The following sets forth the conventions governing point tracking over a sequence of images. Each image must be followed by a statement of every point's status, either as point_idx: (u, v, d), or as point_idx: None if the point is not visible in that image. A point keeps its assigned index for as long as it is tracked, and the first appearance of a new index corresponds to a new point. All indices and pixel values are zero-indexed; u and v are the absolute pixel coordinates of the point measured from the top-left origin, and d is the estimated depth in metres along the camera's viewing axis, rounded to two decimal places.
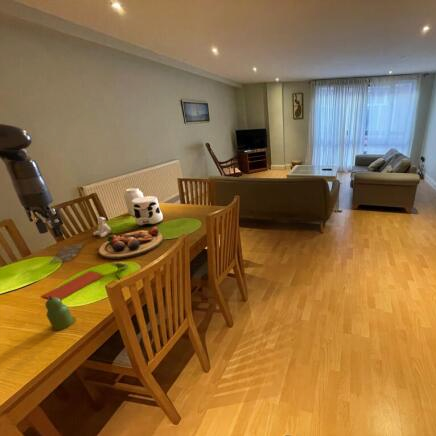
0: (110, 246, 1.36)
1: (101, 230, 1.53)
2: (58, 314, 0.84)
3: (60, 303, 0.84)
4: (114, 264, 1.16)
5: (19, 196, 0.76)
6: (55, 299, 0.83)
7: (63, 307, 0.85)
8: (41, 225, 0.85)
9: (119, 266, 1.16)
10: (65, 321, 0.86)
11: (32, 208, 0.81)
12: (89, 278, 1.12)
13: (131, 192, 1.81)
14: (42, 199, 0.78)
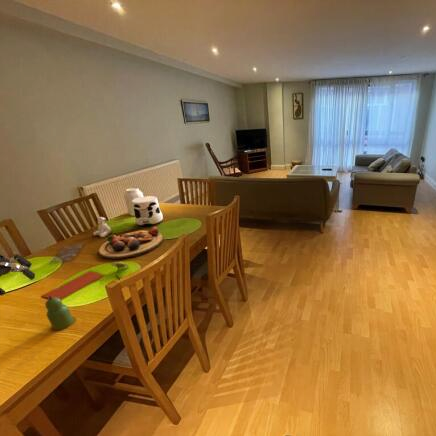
0: (110, 246, 1.36)
1: (101, 230, 1.53)
2: (58, 314, 0.84)
3: (60, 303, 0.84)
4: (114, 264, 1.16)
5: None
6: (55, 299, 0.83)
7: (63, 307, 0.85)
8: None
9: (119, 266, 1.16)
10: (65, 321, 0.86)
11: None
12: (89, 278, 1.12)
13: (131, 192, 1.81)
14: None
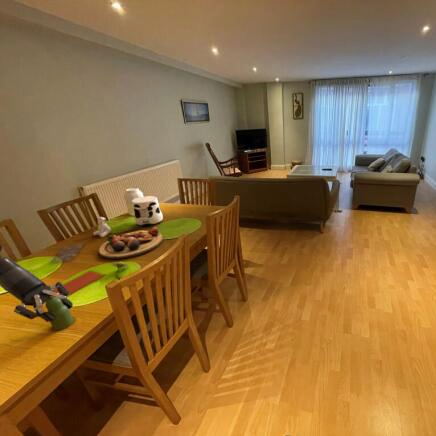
0: (110, 246, 1.36)
1: (101, 230, 1.53)
2: (58, 314, 0.84)
3: (60, 303, 0.84)
4: (114, 264, 1.16)
5: (27, 278, 0.82)
6: (55, 299, 0.83)
7: (63, 307, 0.85)
8: None
9: (119, 266, 1.16)
10: (65, 321, 0.86)
11: (30, 296, 0.81)
12: (89, 278, 1.12)
13: (131, 192, 1.81)
14: None
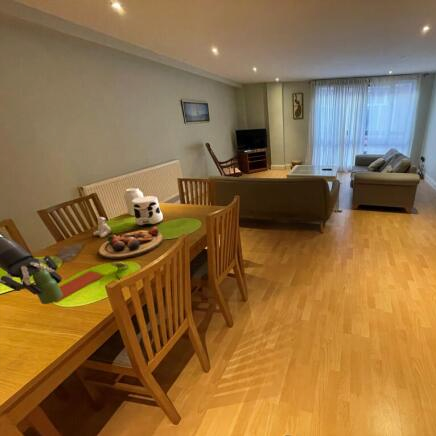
0: (110, 246, 1.36)
1: (101, 230, 1.53)
2: (46, 287, 0.81)
3: (48, 276, 0.82)
4: (114, 264, 1.16)
5: (13, 249, 0.79)
6: (43, 271, 0.81)
7: (51, 280, 0.83)
8: None
9: (119, 266, 1.16)
10: (54, 295, 0.83)
11: (17, 268, 0.79)
12: (89, 278, 1.12)
13: (131, 192, 1.81)
14: None
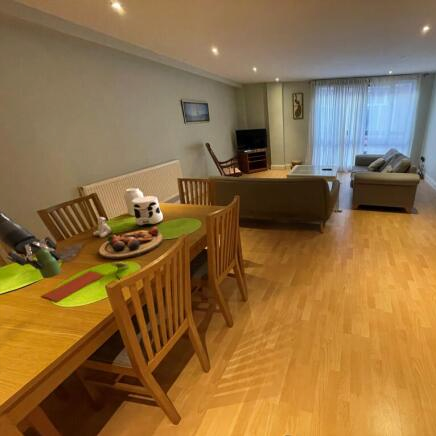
0: (110, 246, 1.36)
1: (101, 230, 1.53)
2: (46, 263, 0.93)
3: (48, 254, 0.94)
4: (114, 264, 1.16)
5: (18, 230, 0.91)
6: (44, 250, 0.93)
7: (51, 258, 0.95)
8: None
9: (119, 266, 1.16)
10: (53, 271, 0.95)
11: (21, 246, 0.91)
12: (89, 278, 1.12)
13: (131, 192, 1.81)
14: None
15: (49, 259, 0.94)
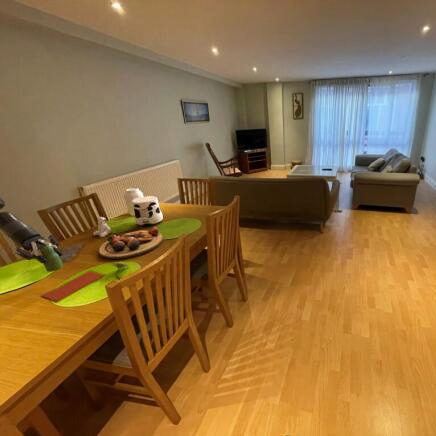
0: (110, 246, 1.36)
1: (101, 230, 1.53)
2: (50, 258, 1.05)
3: (52, 250, 1.05)
4: (114, 264, 1.16)
5: (25, 228, 1.03)
6: (48, 246, 1.04)
7: (54, 253, 1.06)
8: None
9: (119, 266, 1.16)
10: (56, 265, 1.07)
11: (28, 243, 1.02)
12: (89, 278, 1.12)
13: (131, 192, 1.81)
14: None
15: (52, 254, 1.05)
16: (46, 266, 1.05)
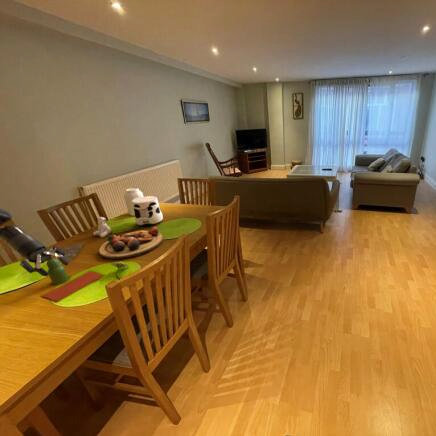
0: (110, 246, 1.36)
1: (101, 230, 1.53)
2: (56, 271, 1.07)
3: (58, 263, 1.08)
4: (114, 264, 1.16)
5: (31, 241, 1.05)
6: (54, 260, 1.07)
7: (60, 266, 1.09)
8: None
9: (119, 266, 1.16)
10: (62, 278, 1.09)
11: (34, 255, 1.05)
12: (89, 278, 1.12)
13: (131, 192, 1.81)
14: None
15: (58, 268, 1.08)
16: (52, 279, 1.08)
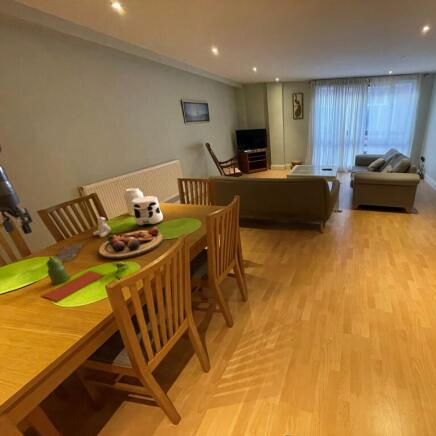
0: (110, 246, 1.36)
1: (101, 230, 1.53)
2: (56, 271, 1.07)
3: (58, 263, 1.08)
4: (114, 264, 1.16)
5: None
6: (54, 260, 1.07)
7: (60, 266, 1.09)
8: (8, 224, 0.94)
9: (119, 266, 1.16)
10: (62, 278, 1.09)
11: (0, 209, 0.90)
12: (89, 278, 1.12)
13: (131, 192, 1.81)
14: (11, 200, 0.89)
15: (58, 268, 1.08)
16: (52, 279, 1.08)
